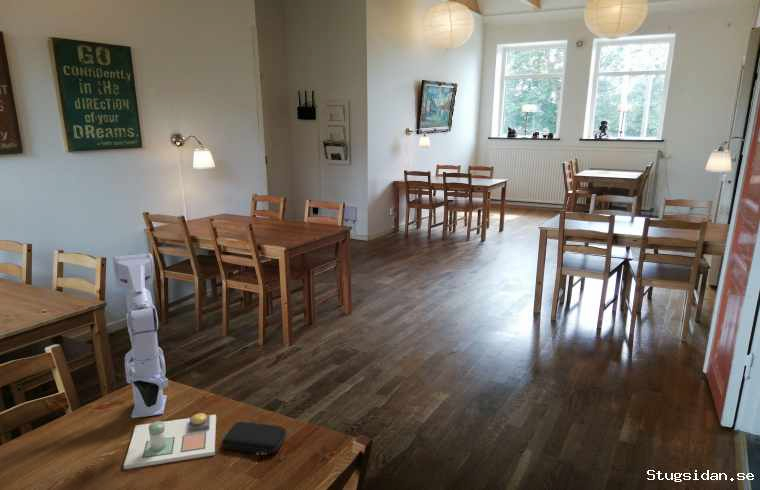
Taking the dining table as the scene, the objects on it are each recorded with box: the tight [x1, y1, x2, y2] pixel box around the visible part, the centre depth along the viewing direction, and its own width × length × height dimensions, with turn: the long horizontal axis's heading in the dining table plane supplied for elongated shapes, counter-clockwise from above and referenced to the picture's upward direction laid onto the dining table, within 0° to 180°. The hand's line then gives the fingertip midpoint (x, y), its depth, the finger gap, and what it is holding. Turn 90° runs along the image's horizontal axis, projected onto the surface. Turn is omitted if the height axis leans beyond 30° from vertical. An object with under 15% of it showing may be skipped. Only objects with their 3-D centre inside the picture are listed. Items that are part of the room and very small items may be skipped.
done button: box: [191, 412, 207, 425], centre depth 130 cm, size 4×4×2 cm
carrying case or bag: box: [221, 421, 287, 456], centre depth 125 cm, size 11×3×15 cm
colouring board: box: [123, 414, 217, 470], centre depth 125 cm, size 16×20×2 cm
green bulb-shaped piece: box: [149, 420, 166, 451], centre depth 120 cm, size 4×4×6 cm
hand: (150, 404), depth 124 cm, fingers closed
